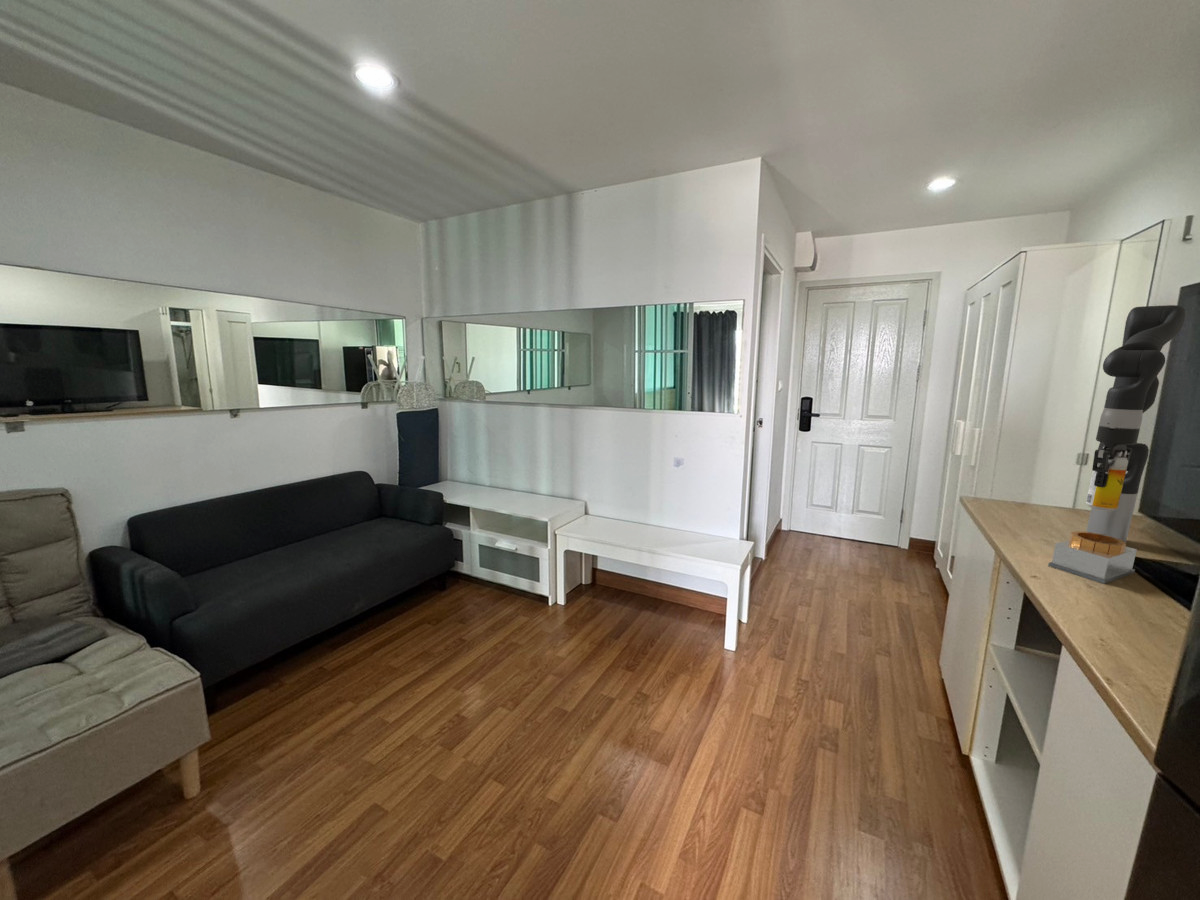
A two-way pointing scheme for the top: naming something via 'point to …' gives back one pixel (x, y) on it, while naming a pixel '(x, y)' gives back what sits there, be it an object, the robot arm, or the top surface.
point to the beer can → (1108, 487)
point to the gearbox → (1094, 557)
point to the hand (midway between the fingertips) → (1105, 485)
